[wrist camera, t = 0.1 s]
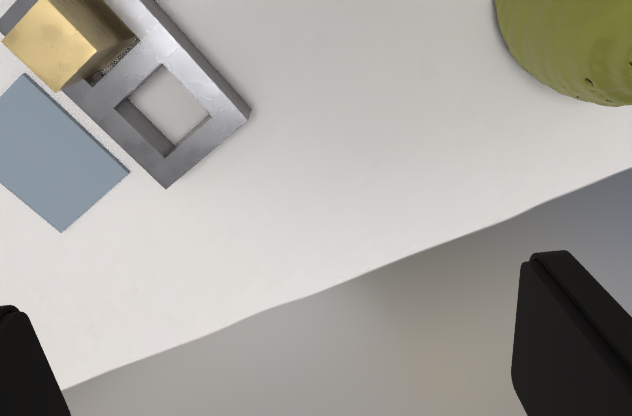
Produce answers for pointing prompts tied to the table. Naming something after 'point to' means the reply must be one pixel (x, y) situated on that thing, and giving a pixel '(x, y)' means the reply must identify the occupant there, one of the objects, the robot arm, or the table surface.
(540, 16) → the green knotted bag
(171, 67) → the cinder block
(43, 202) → the rubber pad
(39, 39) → the brass plug
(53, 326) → the table surface
